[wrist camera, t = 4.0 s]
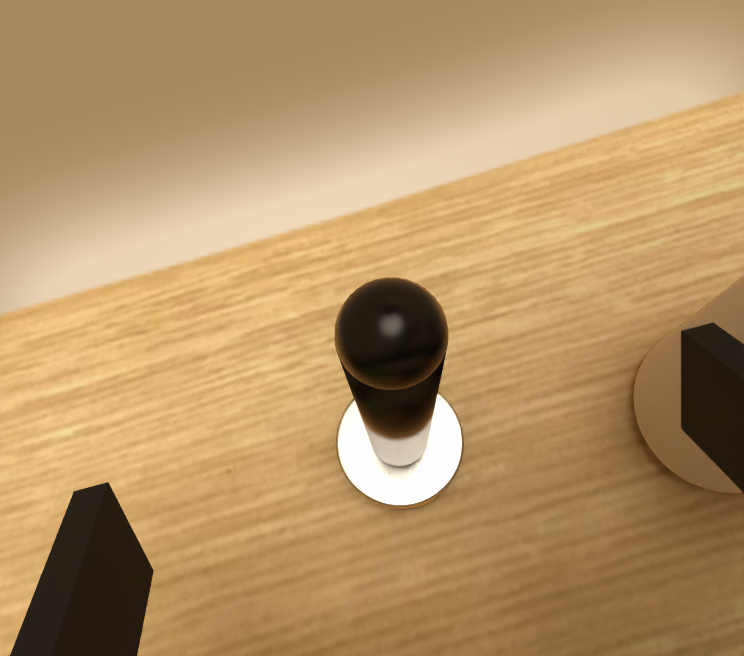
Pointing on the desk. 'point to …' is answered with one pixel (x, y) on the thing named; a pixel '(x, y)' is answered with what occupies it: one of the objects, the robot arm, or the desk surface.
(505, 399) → the desk surface
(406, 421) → the rod on base
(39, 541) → the desk surface
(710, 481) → the beverage can
